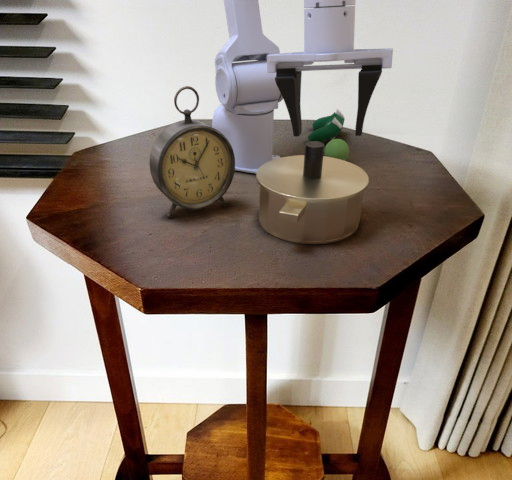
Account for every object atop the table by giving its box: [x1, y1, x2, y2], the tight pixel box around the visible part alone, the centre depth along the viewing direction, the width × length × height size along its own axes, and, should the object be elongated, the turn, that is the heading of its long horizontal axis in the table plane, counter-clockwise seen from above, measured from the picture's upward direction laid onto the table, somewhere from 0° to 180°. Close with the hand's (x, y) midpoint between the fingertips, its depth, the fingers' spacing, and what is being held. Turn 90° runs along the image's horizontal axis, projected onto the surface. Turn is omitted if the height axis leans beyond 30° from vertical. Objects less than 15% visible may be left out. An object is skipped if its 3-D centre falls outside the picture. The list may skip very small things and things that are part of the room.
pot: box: [258, 185, 365, 245], centre depth 73 cm, size 14×19×6 cm
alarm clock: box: [149, 85, 236, 219], centre depth 72 cm, size 11×5×16 cm, turn 117°
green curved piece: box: [307, 108, 345, 143], centre depth 100 cm, size 9×4×6 cm
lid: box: [255, 141, 370, 203], centre depth 70 cm, size 15×15×5 cm
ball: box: [324, 138, 350, 161], centre depth 90 cm, size 4×4×4 cm
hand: (327, 134), depth 68 cm, fingers open, 7 cm apart
